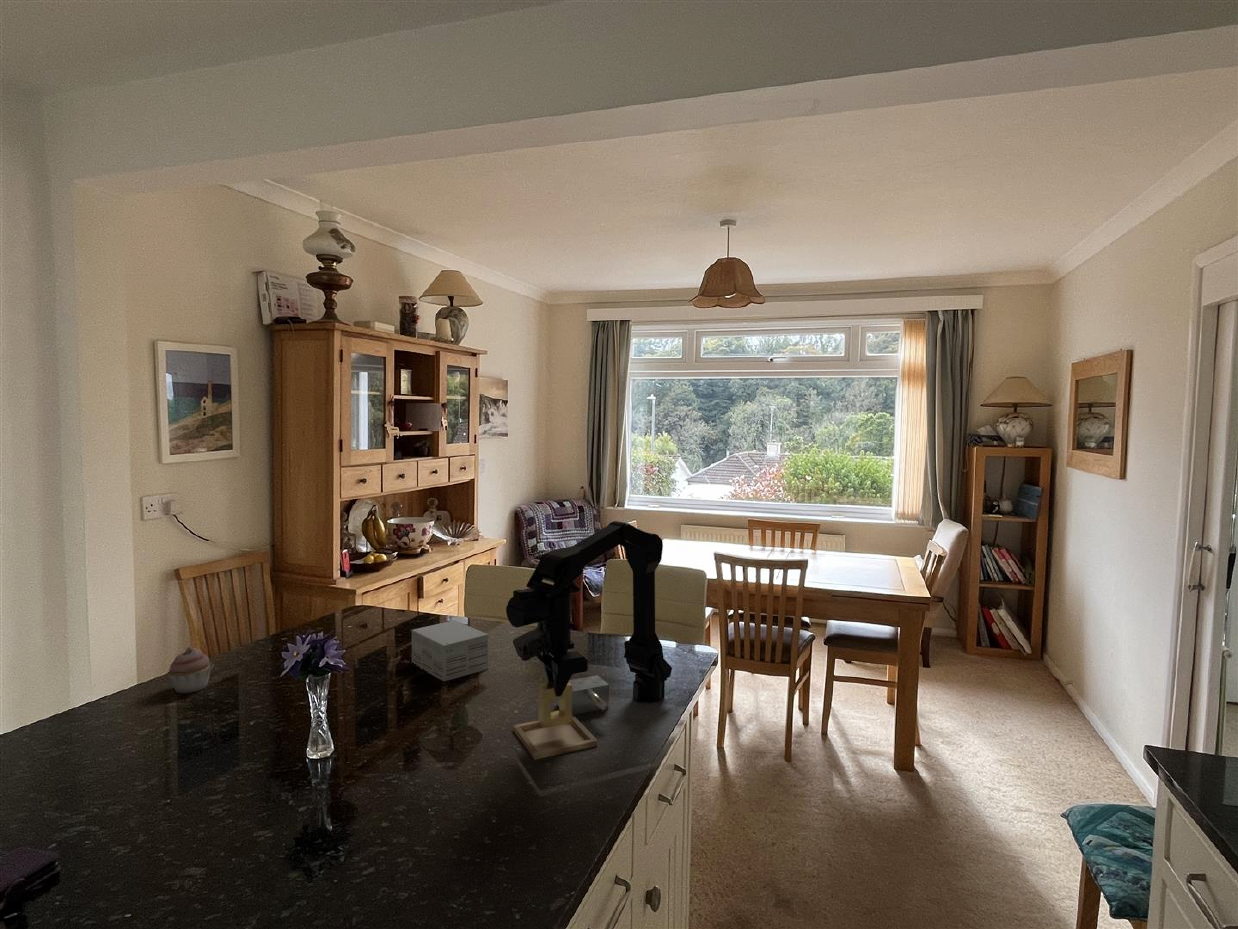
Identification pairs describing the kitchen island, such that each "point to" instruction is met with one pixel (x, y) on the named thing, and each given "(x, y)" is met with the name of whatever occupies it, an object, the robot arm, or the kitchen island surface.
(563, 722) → the wooden block
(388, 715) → the kitchen island surface
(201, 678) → the cupcake
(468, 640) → the supplement box
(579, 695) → the vise block
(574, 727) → the tray
